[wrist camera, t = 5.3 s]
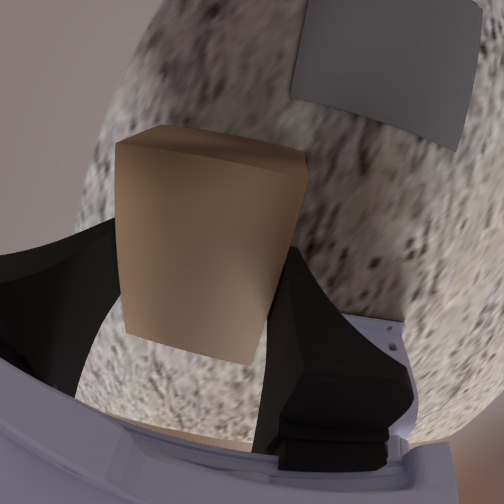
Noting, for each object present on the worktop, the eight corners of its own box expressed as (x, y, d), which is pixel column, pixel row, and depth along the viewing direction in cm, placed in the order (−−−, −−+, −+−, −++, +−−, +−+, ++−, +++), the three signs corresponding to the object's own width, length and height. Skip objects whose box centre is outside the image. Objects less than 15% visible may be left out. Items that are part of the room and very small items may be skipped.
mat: (479, 10, 8) (482, 9, 8) (452, 150, 14) (456, 152, 13) (319, -57, 8) (320, -60, 8) (289, 96, 14) (289, 96, 13)
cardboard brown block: (303, 151, 10) (309, 179, 7) (259, 310, 15) (250, 366, 12) (162, 124, 10) (115, 143, 7) (154, 284, 15) (126, 332, 12)
